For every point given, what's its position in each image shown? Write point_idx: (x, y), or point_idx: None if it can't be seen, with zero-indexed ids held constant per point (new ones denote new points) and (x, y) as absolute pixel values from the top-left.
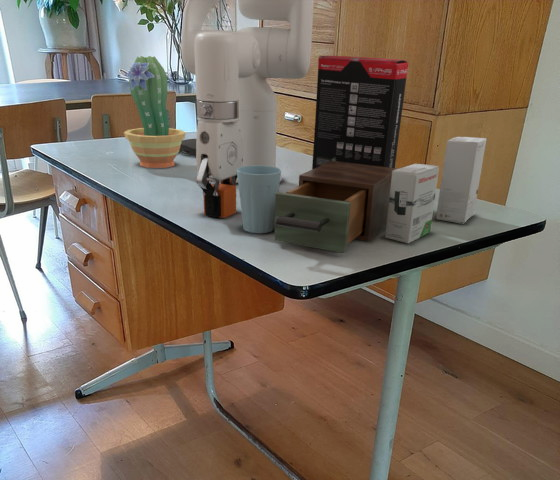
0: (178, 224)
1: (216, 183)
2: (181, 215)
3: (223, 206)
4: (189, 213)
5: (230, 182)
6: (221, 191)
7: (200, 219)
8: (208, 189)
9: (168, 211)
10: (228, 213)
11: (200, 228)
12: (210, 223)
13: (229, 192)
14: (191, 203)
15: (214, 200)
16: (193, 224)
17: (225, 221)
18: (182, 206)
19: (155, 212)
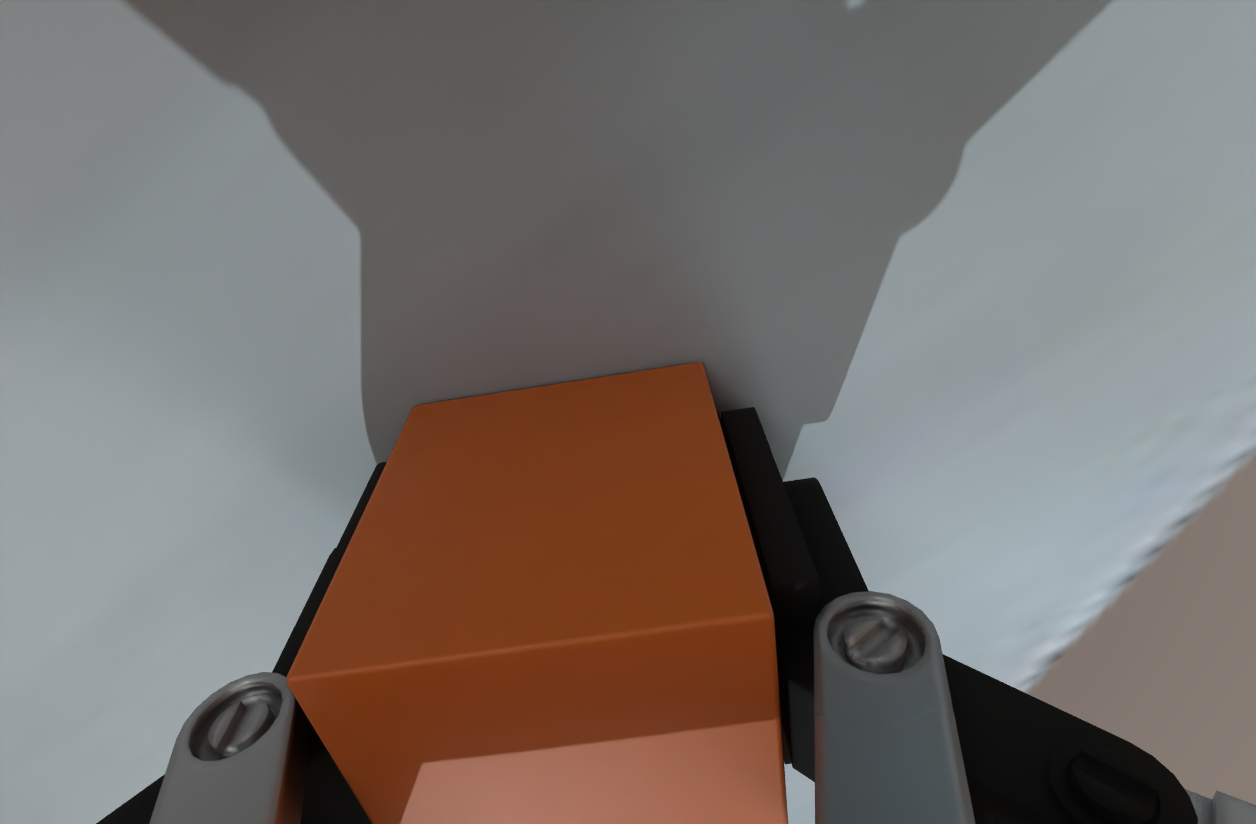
0: (1144, 543)
1: (952, 813)
2: None
3: (722, 450)
4: None
5: (296, 811)
6: (772, 636)
7: (885, 510)
8: (1109, 739)
9: (811, 790)
10: (606, 392)
11: (1216, 306)
12: (974, 349)
13: (562, 583)
14: None
15: (835, 577)
16: (1089, 451)
17: (806, 270)
18: None
19: None
